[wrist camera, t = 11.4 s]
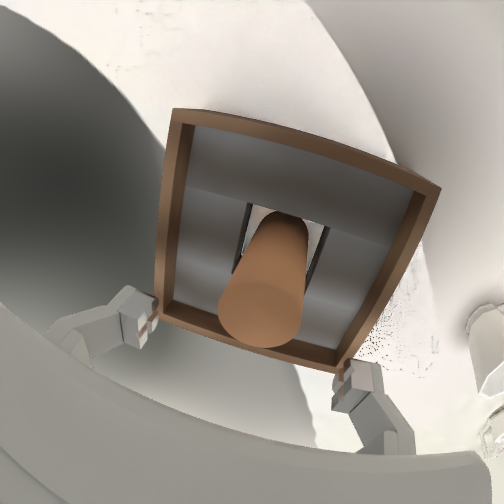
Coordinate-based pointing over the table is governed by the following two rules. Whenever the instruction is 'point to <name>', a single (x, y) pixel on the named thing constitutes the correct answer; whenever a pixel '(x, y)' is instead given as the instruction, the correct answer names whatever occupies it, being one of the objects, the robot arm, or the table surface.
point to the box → (293, 203)
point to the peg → (268, 284)
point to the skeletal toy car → (494, 435)
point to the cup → (487, 349)
